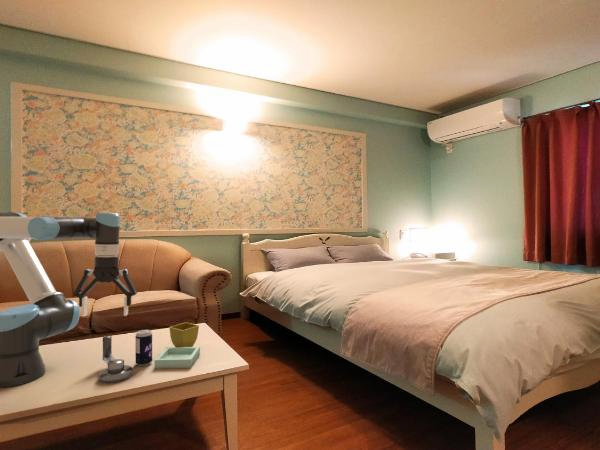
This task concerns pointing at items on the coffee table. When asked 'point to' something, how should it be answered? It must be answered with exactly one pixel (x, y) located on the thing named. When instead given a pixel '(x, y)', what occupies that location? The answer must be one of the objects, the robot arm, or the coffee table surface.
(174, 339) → the flower pot
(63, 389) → the coffee table surface
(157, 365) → the tray
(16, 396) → the coffee table surface
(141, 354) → the beverage can
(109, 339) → the crank
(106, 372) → the crank base
